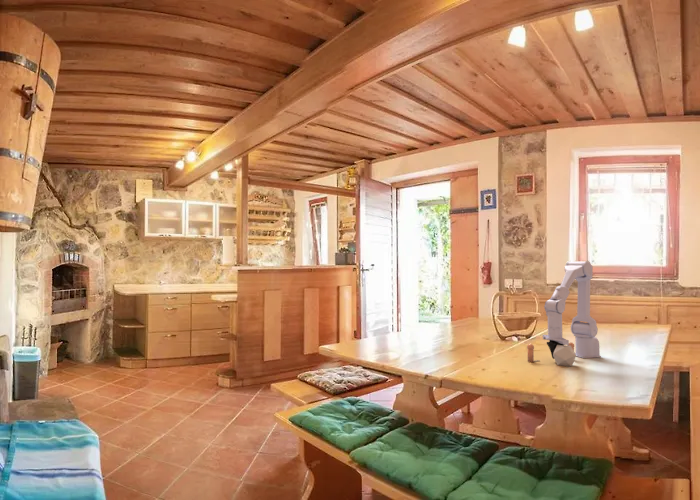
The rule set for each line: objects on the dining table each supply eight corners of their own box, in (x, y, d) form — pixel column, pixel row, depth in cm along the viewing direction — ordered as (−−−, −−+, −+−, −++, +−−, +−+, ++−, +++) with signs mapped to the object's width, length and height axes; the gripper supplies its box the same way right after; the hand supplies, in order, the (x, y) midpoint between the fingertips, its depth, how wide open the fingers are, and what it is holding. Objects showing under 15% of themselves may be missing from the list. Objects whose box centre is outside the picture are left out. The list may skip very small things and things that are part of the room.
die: (576, 365, 180) (562, 344, 185) (584, 359, 172) (569, 337, 178) (559, 373, 179) (545, 351, 184) (566, 367, 171) (551, 345, 177)
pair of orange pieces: (571, 358, 190) (571, 341, 190) (576, 360, 187) (575, 342, 188) (525, 360, 186) (525, 343, 186) (529, 362, 183) (529, 344, 183)
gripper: (536, 325, 191) (536, 355, 190) (557, 330, 176) (558, 362, 176) (550, 324, 192) (550, 354, 191) (572, 329, 178) (573, 362, 177)
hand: (555, 358), depth 184 cm, fingers closed
